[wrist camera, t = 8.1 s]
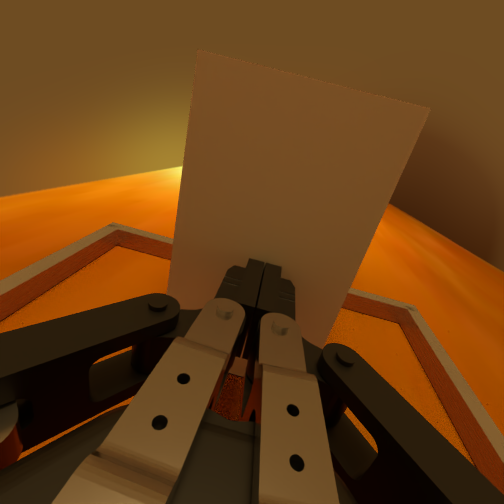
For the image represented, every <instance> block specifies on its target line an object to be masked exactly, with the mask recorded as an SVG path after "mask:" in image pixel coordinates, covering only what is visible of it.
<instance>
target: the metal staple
mask: <svg viewBox="0 0 504 504" xmlns="http://www.w3.org/2000/svg"><path fill="white" fill-rule="evenodd" d="M173 240H174V239H171V238H168V237H164V236H161V235H157V234H153V233H150V232H146V231H142V230H139V229H135V228H132V227H128V226H124V225H121V224H117V223H111V224H109V225H107V226H105V227H103V228H101V229H99V230H98V231H96V232H94V233H92V234H90V235H88V236H86V237H84V238H82V239H80V240H78V241H76V242H74V243H72V244H70V245H69V246H67V247H65V248H63V249H61V250H59V251H57V252H55V253H53V254H51V255H49V256H47V257H45V258H43V259H41V260H40V261H38V262H36V263H34V264H32V265H30V266H28V267H26V268H24V269H22V270H20V271H18V272H16V273H14V274H12V275H11V276H9V277H7V278H5V279H3V280H1V281H0V321H1V320H3V319H4V318H6V317H8V316H9V315H11V314H12V313H14V312H15V311H17V310H18V309H20V308H21V307H23V306H24V305H26V304H27V303H29V302H30V301H32V300H34V299H35V298H37V297H38V296H40V295H41V294H43V293H44V292H46V291H47V290H49V289H50V288H52V287H53V286H55V285H56V284H58V283H59V282H61V281H63V280H64V279H66V278H67V277H69V276H70V275H72V274H73V273H75V272H76V271H78V270H79V269H81V268H82V267H84V266H85V265H87V264H89V263H90V262H92V261H93V260H95V259H96V258H98V257H99V256H101V255H102V254H104V253H105V252H107V251H108V250H110V249H111V248H113V247H115V246H116V245H119V246H123V247H126V248H130V249H134V250H137V251H141V252H144V253H148V254H152V255H155V256H159V257H162V258H166V259H170V260H171V256H172V248H173ZM342 308H346V309H349V310H353V311H357V312H360V313H364V314H367V315H371V316H375V317H378V318H382V319H385V320H389V321H393V322H396V323H399V324H400V326H401V328H402V329H403V331H404V333H405V335H406V337H407V339H408V341H409V342H410V344H411V346H412V348H413V350H414V352H415V354H416V356H417V357H418V359H419V361H420V363H421V365H422V367H423V369H424V370H425V372H426V374H427V376H428V378H429V380H430V382H431V383H432V385H433V387H434V389H435V391H436V393H437V395H438V396H439V398H440V400H441V402H442V404H443V406H444V408H445V409H446V411H447V413H448V415H449V417H450V419H451V421H452V423H453V424H454V426H455V428H456V430H457V432H458V434H459V436H460V437H461V439H462V441H463V443H464V445H465V447H466V449H467V450H468V452H469V454H470V456H471V458H472V460H473V462H474V463H475V465H476V467H477V469H478V470H479V471H480V472H481V473H482V474H483V475H484V476H485V477H486V478H487V479H488V480H489V481H490V482H491V483H492V484H493V485H494V486H495V487H496V488H497V489H498V490H499V491H500V492H501V493H502V494H503V495H504V436H503V435H502V434H501V432H500V431H499V429H498V428H497V426H496V425H495V423H494V422H493V420H492V419H491V417H490V416H489V414H488V413H487V411H486V410H485V408H484V407H483V406H482V404H481V403H480V401H479V400H478V398H477V397H476V395H475V394H474V392H473V391H472V389H471V388H470V386H469V385H468V383H467V382H466V380H465V379H464V378H463V376H462V375H461V373H460V372H459V370H458V369H457V367H456V366H455V364H454V363H453V361H452V360H451V358H450V357H449V355H448V354H447V352H446V351H445V350H444V348H443V347H442V345H441V344H440V342H439V341H438V339H437V338H436V336H435V335H434V333H433V332H432V330H431V329H430V327H429V326H428V324H427V323H426V322H425V320H424V319H423V317H422V316H421V314H420V313H419V311H418V310H417V308H416V307H415V306H414V305H411V304H407V303H404V302H400V301H396V300H393V299H389V298H385V297H382V296H378V295H375V294H371V293H367V292H364V291H360V290H356V289H353V288H350V289H349V291H348V293H347V296H346V298H345V300H344V302H343V305H342Z"/></svg>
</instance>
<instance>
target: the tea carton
mask: <svg viewBox="0 0 504 504" xmlns="http://www.w3.org/2000/svg"><path fill="white" fill-rule="evenodd" d="M430 110H431V108H427V107H423V106H419V105H415V104H411V103H407V102H403V101H399V100H395V99H392V98H388V97H383V96H380V95H376V94H372V93H368V92H364V91H360V90H356V89H352V88H348V87H345V86H340V85H337V84H332V83H329V82H325V81H321V80H317V79H313V78H309V77H305V76H301V75H298V74H293V73H290V72H286V71H282V70H278V69H274V68H270V67H266V66H262V65H258V64H254V63H250V62H247V61H242V60H238V59H234V58H231V57H227V56H223V55H219V54H215V53H211V52H207V51H203V50H199V49H198V50H197V59H196V67H195V74H194V82H193V90H192V98H191V106H190V114H189V122H188V130H187V138H186V146H185V154H184V161H183V169H182V177H181V185H180V193H179V201H178V209H177V217H176V224H175V232H174V240H173V248H172V256H171V264H170V272H169V280H168V288H167V295H169V296H172V297H173V298H175V299H176V300H177V301H178V302H179V304H180V309H186V310H197V309H202V308H204V306H205V304H206V303H207V302H208V301H210V300H212V299H214V298H215V295H216V293H217V291H218V289H219V287H220V285H221V283H222V280H223V278H224V277H225V274H226V272H227V270H228V269H229V268H231V267H232V266H234V265H236V266H240V267H244V268H246V266H247V263H248V260H249V258H251V259H255V260H259V261H262V262H265V263H264V267H265V264H266V263H270V264H273V265H277V266H281V267H282V270H281V278H284V279H287V280H291V282H292V283H293V285H294V287H295V318H296V323H297V324H298V325H299V327H300V330H301V336H302V337H303V338H304V339H305V340H307V341H308V342H310V343H311V344H313V345H315V346H317V347H319V348H321V349H323V347H324V344H325V342H326V340H327V338H328V336H329V333H330V331H331V329H332V327H333V324H334V322H335V320H336V318H337V316H338V313H339V311H340V309H341V307H342V305H343V302H344V300H345V298H346V296H347V293H348V291H349V289H350V287H351V285H352V282H353V280H354V278H355V276H356V274H357V271H358V269H359V267H360V265H361V262H362V260H363V258H364V256H365V254H366V251H367V249H368V247H369V245H370V243H371V240H372V238H373V236H374V234H375V231H376V229H377V227H378V225H379V223H380V220H381V218H382V216H383V214H384V212H385V209H386V207H387V205H388V203H389V200H390V198H391V196H392V194H393V192H394V189H395V187H396V185H397V183H398V180H399V178H400V176H401V174H402V172H403V169H404V167H405V165H406V163H407V161H408V158H409V156H410V154H411V151H412V149H413V147H414V145H415V143H416V141H417V138H418V136H419V134H420V132H421V130H422V127H423V125H424V123H425V120H426V119H427V116H428V114H429V112H430ZM263 271H264V268H263ZM262 274H263V273H262ZM261 278H262V277H261ZM246 338H247V336H246ZM245 342H246V339H245ZM244 347H245V343H244V346H243V350H242V353H241V357H240V358H239V357H235V360H234V364H233V366H232V367H231V369H230V371H229V373H231V374H234V375H238V376H241V377H243V376H244V373H245V369H246V366H247V361H248V360H246V359H243V358H242V356H243V351H244Z"/></svg>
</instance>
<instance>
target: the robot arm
mask: <svg viewBox="0 0 504 504" xmlns="http://www.w3.org/2000/svg"><path fill="white" fill-rule="evenodd" d="M264 263H265V262H262V261H259V260H255V259H251V258H249V260H248V263H247V266H246V268H244V267H240V266H236V265H234V266H232V267H231V268H229V269H228V270H227V272H226V274H225V277H224V278H223V280H222V283H221V285H220V287H219V289H218V291H217V293H216V295H215V298H214V299H212V300H210V301H208V302H207V303H206V304H205V306H204V308H202V309H197V310H186V309H180V304H179V302H178V301H177V300H176V299H175V298H173V297H172V296H169V295H166V294H160V293H153V294H147V295H144V296H140V297H136V298H132V299H129V300H125V301H121V302H117V303H113V304H110V305H106V306H102V307H98V308H95V309H91V310H87V311H83V312H80V313H76V314H72V315H68V316H64V317H61V318H57V319H53V320H49V321H46V322H42V323H38V324H34V325H30V326H27V327H23V328H19V329H15V330H12V331H8V332H4V333H0V504H504V495H503V494H502V493H501V492H500V491H499V490H498V489H497V488H496V487H495V486H494V485H493V484H492V483H491V482H490V481H489V480H488V479H487V478H486V477H485V476H484V475H483V474H482V473H481V472H480V471H479V470H478V469H477V468H476V467H474V466H473V465H472V464H471V463H470V462H469V461H468V460H467V459H466V458H465V457H464V456H463V455H462V454H461V453H460V452H459V451H458V450H457V449H456V448H455V447H454V446H453V445H452V444H451V443H450V442H449V441H448V440H447V439H446V438H445V437H443V436H442V435H441V434H440V433H439V432H438V431H437V430H436V429H435V428H434V427H433V426H432V425H431V424H430V423H429V422H428V421H427V420H426V419H425V418H424V417H423V416H422V415H421V414H420V413H419V412H418V411H417V410H416V409H415V408H414V407H412V406H411V405H410V404H409V403H408V402H407V401H406V400H405V399H404V398H403V397H402V396H401V395H400V394H399V393H398V392H397V391H396V390H395V389H394V388H393V387H392V386H391V385H390V384H389V383H388V382H387V381H386V380H385V379H384V378H383V377H381V376H380V375H379V374H378V373H377V372H376V371H375V370H374V369H373V368H372V367H371V366H370V365H369V364H368V363H367V362H366V361H365V360H364V359H363V358H362V357H361V356H360V355H359V354H358V353H356V352H355V351H354V350H352V349H351V348H349V347H347V346H345V345H342V344H338V343H330V344H327V345H326V346H325V347H324V348H323V349H321V348H319V347H317V346H315V345H313V344H311V343H310V342H308V341H307V340H305V339H304V338H303V337H302V336H301V330H300V327H299V325H298V324H297V323H296V318H295V287H294V285H293V283H292V282H291V280H287V279H284V278H281V270H282V267H281V266H277V265H273V264H270V263H266V264H265V267H264ZM263 268H264V271H263ZM262 273H263V274H262ZM261 277H262V278H261ZM246 336H247V338H246ZM245 339H246V342H245ZM244 343H245V347H244V351H243V356H242V358H243V359H246V360H248V361H247V366H246V369H245V373H244V376H243V382H242V391H241V400H240V409H239V418H238V421H231V420H228V419H226V418H224V417H222V416H221V415H219V414H217V413H216V412H215V410H216V407H217V404H218V402H219V399H220V396H221V394H222V391H223V388H224V385H225V383H226V380H227V377H228V374H229V371H230V369H231V367H232V366H233V364H234V360H235V357H239V358H240V357H241V353H242V350H243V346H244ZM130 346H132V350H129V351H127V352H124V353H121V354H119V355H116V356H114V357H111V358H109V359H106V360H104V361H101V362H98V363H96V364H93V363H94V362H96V361H97V360H98V359H100V358H102V357H104V356H106V355H109V354H112V353H114V352H117V351H120V350H122V349H125V348H127V347H130ZM134 395H135V397H134V398H133V400H132V401H131V403H130V404H128V405H124V406H121V407H118V408H115V409H113V410H111V411H108V412H106V413H104V414H102V415H100V416H98V417H97V418H95V419H93V420H91V421H89V422H87V423H86V424H84V425H82V426H80V427H78V428H76V429H75V430H73V431H71V432H69V433H67V434H66V435H64V436H62V437H60V438H58V439H56V440H55V441H53V442H51V443H49V444H47V445H45V446H44V447H42V448H40V449H38V450H36V451H35V452H33V453H31V454H29V455H27V456H25V457H24V458H22V459H20V460H18V458H19V456H20V454H21V453H22V452H24V451H26V450H28V449H30V448H32V447H34V446H36V445H38V444H40V443H42V442H44V441H46V440H48V439H50V438H52V437H54V436H56V435H58V434H60V433H62V432H64V431H66V430H67V429H69V428H71V427H73V426H75V425H77V424H79V423H81V422H83V421H85V420H87V419H89V418H91V417H93V416H95V415H97V414H99V413H101V412H103V411H105V410H107V409H109V408H111V407H113V406H115V405H117V404H119V403H121V402H123V401H125V400H127V399H129V398H130V397H132V396H134ZM347 407H348V408H349V409H350V410H351V411H352V413H353V414H354V415H355V416H356V417H357V419H358V420H359V421H360V422H361V423H362V425H363V426H364V427H365V428H366V429H367V430H368V432H369V433H370V434H371V435H372V437H373V438H374V440H375V442H376V444H377V448H378V453H377V452H376V451H375V450H374V449H373V448H372V446H371V445H370V444H369V443H368V441H367V440H366V439H365V438H364V437H363V435H362V434H361V433H360V432H359V430H358V429H357V428H356V427H355V425H354V424H353V423H352V422H351V421H350V419H349V418H348V417H347V416H346V414H345V413H344V412H345V410H346V408H347ZM17 460H18V461H17Z"/></svg>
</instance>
